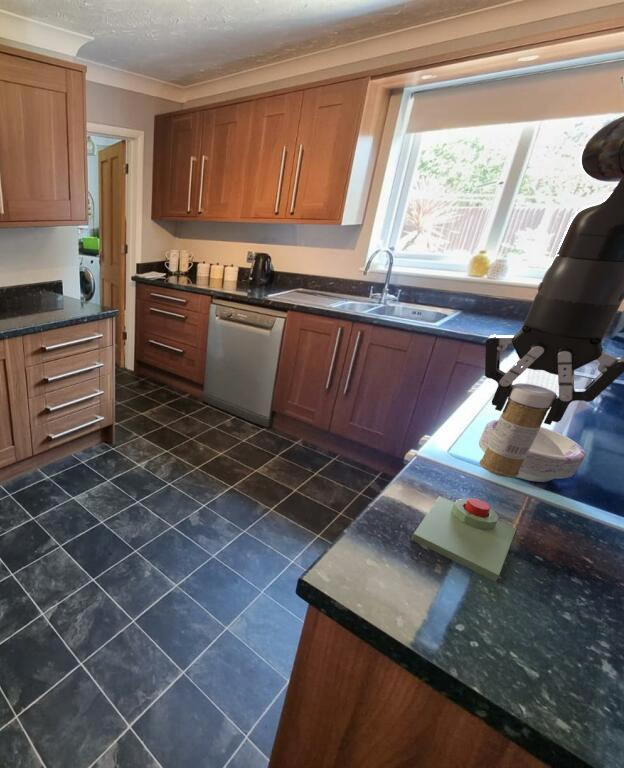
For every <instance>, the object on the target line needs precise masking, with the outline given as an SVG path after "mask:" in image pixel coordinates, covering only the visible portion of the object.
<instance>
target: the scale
mask: <svg viewBox="0 0 624 768" xmlns="http://www.w3.org/2000/svg"><path fill="white" fill-rule="evenodd" d="M467 501H468V499H467V498H459V499H456V500H455V501H452V500H450V499H448V498H445V497H443V496H440V495H439V496H438V497H437V499H436V500H435V501H434V503H433V504H432V506H431V507H430V509H429V511H427V513H426V515H425V516H424V517H423V519H422V521H421V522H420V524H419V525H418V527H416V529H415V531H414V532H413V534H412V537H411V541H412V542H415V543H417V544H419V545H421V546H423V547H425V548H427V549H429V550H430V551H433V552H435V553H437V554H439V555H440V556H443V557H445V558H447V559H449V560H451V561H453V562H454V563H457V564H458V565H459V564H460V565H461V566H463V567H464V568H468V569H469V570H471V571H473V572H475V573H477V574H479V575H481V576H482V577H485V578H487V579H489V580H491V581H493V582H497V581H498V579H499V577H500V576H501V575H500V574H501V572H502V569H503V567H504V565H505V562H506V559H507V556H508V554H509V551H510V548H511V546H512V542H513V540H514V538H515V535H516V532H517V527H514V526H512V525H510V524H507V523H505V522H503V521H501V520H499V516H498V514H497V512H495V510H493V509H492V508H490V510H489V512H488V514H487V516H486V517H484V518H483V517H478V516H475V515H473V514H470V513H469V512H468V511H466V510H465V506H466V504H467Z"/></svg>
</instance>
